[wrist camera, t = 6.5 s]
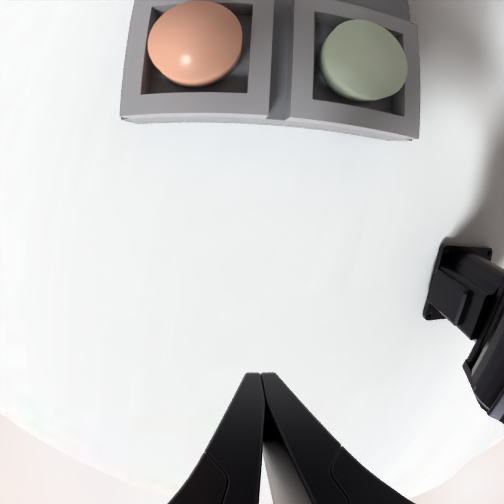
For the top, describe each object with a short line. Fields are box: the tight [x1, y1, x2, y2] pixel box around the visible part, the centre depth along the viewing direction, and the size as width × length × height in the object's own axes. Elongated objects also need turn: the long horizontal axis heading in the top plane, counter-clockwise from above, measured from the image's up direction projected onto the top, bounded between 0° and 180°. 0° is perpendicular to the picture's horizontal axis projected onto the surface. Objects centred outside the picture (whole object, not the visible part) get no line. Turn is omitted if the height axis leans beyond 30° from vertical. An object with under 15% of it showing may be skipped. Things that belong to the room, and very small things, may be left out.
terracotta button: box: [148, 1, 242, 88], centre depth 11 cm, size 4×4×2 cm
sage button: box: [318, 19, 408, 103], centre depth 12 cm, size 4×4×2 cm
